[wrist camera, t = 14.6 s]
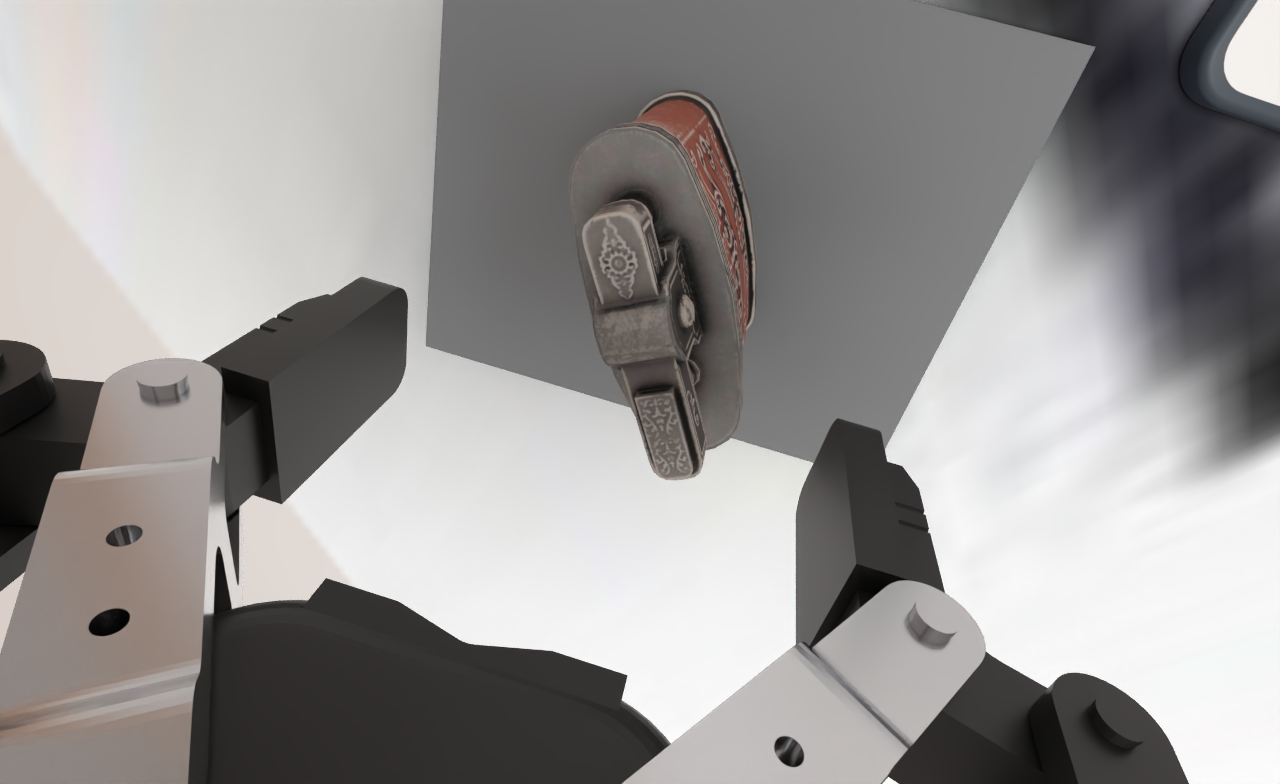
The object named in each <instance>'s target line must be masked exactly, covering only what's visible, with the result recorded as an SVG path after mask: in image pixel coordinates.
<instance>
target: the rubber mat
mask: <svg viewBox="0 0 1280 784" xmlns="http://www.w3.org/2000/svg"><path fill="white" fill-rule="evenodd" d="M1094 49H1095V47H1093V46H1089V45H1085V44H1081V43H1077V42H1073V41H1069V40H1065V39H1062V38H1058V37H1054V36H1050V35H1046V34H1042V33H1038V32H1034V31H1030V30H1026V29H1023V28H1019V27H1015V26H1011V25H1007V24H1003V23H999V22H995V21H991V20H987V19H984V18H980V17H976V16H972V15H968V14H964V13H960V12H956V11H952V10H948V9H945V8H941V7H937V6H933V5H929V4H925V3H921V2H917V1H913V0H443V19H442V39H441V58H440V78H439V97H438V117H437V136H436V156H435V175H434V195H433V214H432V234H431V253H430V273H429V292H428V312H427V331H426V346H428V347H431V348H435V349H438V350H441V351H444V352H448V353H451V354H454V355H458V356H461V357H464V358H468V359H471V360H474V361H478V362H481V363H484V364H488V365H491V366H494V367H498V368H501V369H504V370H508V371H511V372H514V373H518V374H521V375H524V376H528V377H531V378H534V379H538V380H541V381H544V382H548V383H551V384H554V385H557V386H561V387H564V388H567V389H571V390H574V391H577V392H581V393H584V394H587V395H591V396H594V397H597V398H601V399H604V400H607V401H611V402H614V403H617V404H621V405H624V406H627V407H630V405H629V403H628V402H627V400H626V398H625V396H624V394H623V392H622V390H621V388H620V387H619V385H618V383H617V381H616V379H615V377H614V374H613V372H612V369H611V367H610V366H608V365H607V364H605V362H604V360H603V359H602V357H601V355H600V351H599V348H598V345H597V342H596V339H595V334H594V328H593V320H592V316H591V312H590V308H589V304H588V299H587V295H586V291H585V287H584V283H583V279H582V274H581V270H580V266H579V262H578V258H577V251H576V243H575V234H574V226H573V218H572V210H571V201H570V193H569V180H570V169H571V167H572V165H573V163H574V161H575V159H576V157H577V155H578V153H579V151H580V150H581V149H582V148H583V147H584V146H586V145H587V144H588V143H589V142H590V141H591V140H592V139H593V138H594V137H596V136H597V135H599V134H600V133H602V132H604V131H606V130H608V129H610V128H613V127H615V126H617V125H619V124H624V123H631V122H633V121H634V120H636V119H637V117H638V116H639V114H640V112H641V110H642V109H643V108H645V107H646V106H647V105H648V104H649V103H650V102H651V101H652V100H653V99H655V98H657V97H659V96H661V95H663V94H665V93H667V92H669V91H674V90H683V89H687V90H691V91H695V92H699V93H701V94H703V95H704V96H706V97H707V98H709V99H710V100H711V101H712V102H713V103H714V105H715V106H716V108H717V109H718V111H719V112H720V115H721V118H722V120H723V123H724V125H725V128H726V130H727V133H728V135H729V138H730V141H731V143H732V146H733V148H734V151H735V153H736V156H737V158H738V161H739V165H740V169H741V173H742V176H743V180H744V184H745V188H746V192H747V196H748V199H749V203H750V207H751V212H752V221H753V230H754V239H755V248H756V257H757V277H756V307H755V313H754V317H753V321H752V324H751V325H750V326H749V328H748V329H747V330H746V333H745V339H744V346H743V403H742V411H741V417H740V421H739V425H738V429H737V430H736V431H735V433H734V434H733V435H732V436H731V437H730V438H734V439H737V440H740V441H744V442H747V443H750V444H754V445H757V446H760V447H764V448H767V449H770V450H773V451H777V452H780V453H783V454H787V455H790V456H793V457H797V458H800V459H803V460H807V461H810V462H813V463H814V461H815V459H816V457H817V455H818V453H819V451H820V448H821V446H822V444H823V442H824V440H825V438H826V436H827V433H828V431H829V429H830V427H831V425H832V424H833V422H834V421H835V420H836V419H838V418H839V419H843V420H846V421H850V422H853V423H856V424H860V425H863V426H867V427H870V428H873V429H877V430H879V431H880V432H881V434H882V439H883V444H884V449H885V448H886V446H887V444H888V442H889V440H890V438H891V436H892V434H893V432H894V431H895V429H896V427H897V425H898V423H899V421H900V419H901V417H902V415H903V413H904V411H905V410H906V408H907V406H908V404H909V402H910V400H911V398H912V396H913V394H914V392H915V390H916V389H917V387H918V385H919V383H920V381H921V379H922V377H923V375H924V373H925V371H926V369H927V368H928V366H929V364H930V362H931V360H932V358H933V356H934V354H935V352H936V350H937V349H938V347H939V345H940V343H941V341H942V339H943V337H944V335H945V333H946V331H947V329H948V328H949V326H950V324H951V322H952V320H953V318H954V316H955V314H956V312H957V310H958V308H959V307H960V305H961V303H962V301H963V299H964V297H965V295H966V293H967V291H968V289H969V287H970V286H971V284H972V282H973V280H974V278H975V276H976V274H977V272H978V270H979V268H980V267H981V265H982V263H983V261H984V259H985V257H986V255H987V253H988V251H989V249H990V247H991V246H992V244H993V242H994V240H995V238H996V236H997V234H998V232H999V230H1000V228H1001V226H1002V225H1003V223H1004V221H1005V219H1006V217H1007V215H1008V213H1009V211H1010V209H1011V207H1012V205H1013V204H1014V202H1015V200H1016V198H1017V196H1018V194H1019V192H1020V190H1021V188H1022V186H1023V184H1024V183H1025V181H1026V179H1027V177H1028V175H1029V173H1030V171H1031V169H1032V167H1033V165H1034V164H1035V162H1036V160H1037V158H1038V156H1039V154H1040V152H1041V150H1042V148H1043V146H1044V144H1045V143H1046V141H1047V139H1048V137H1049V135H1050V133H1051V131H1052V129H1053V127H1054V125H1055V123H1056V122H1057V120H1058V118H1059V116H1060V114H1061V112H1062V110H1063V108H1064V106H1065V104H1066V102H1067V101H1068V99H1069V97H1070V95H1071V93H1072V91H1073V89H1074V87H1075V85H1076V83H1077V82H1078V80H1079V78H1080V76H1081V74H1082V72H1083V70H1084V68H1085V66H1086V64H1087V62H1088V61H1089V59H1090V57H1091V55H1092V53H1093V51H1094Z"/></svg>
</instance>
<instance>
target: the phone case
mask: <svg viewBox="0 0 1280 784" xmlns="http://www.w3.org/2000/svg"><path fill="white" fill-rule="evenodd" d="M1179 72H1180V81H1181V85H1182V88H1183V90H1184V91H1185V93H1186V94H1187V96H1188V97H1189V98H1190V99H1192V100H1193V101H1194V102H1195V103H1197V104H1199V105H1201V106H1203V107H1205V108H1208V109H1211V110H1214V111H1217V112H1220V113H1223V114H1226V115H1229V116H1232V117H1235V118H1238V119H1241V120H1243V121H1246V122H1249V123H1252V124H1255V125H1258V126H1261V127H1264V128H1267V129H1270V130H1273V131H1276V132H1279V133H1280V0H1215V1H1214V3H1213V4H1212V6H1211V7H1210V9H1209V11H1208V12H1207V14H1206V15H1205V17H1204V18H1203V20H1202V21H1201V23H1200V24H1199V26H1198V28H1197V29H1196V31H1195V32H1194V34H1193V35H1192V37H1191V38H1190V40H1189V42H1188V44H1187V46H1186V48H1185V50H1184V53H1183V55H1182V58H1181V63H1180V70H1179Z"/></svg>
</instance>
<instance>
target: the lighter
mask: <svg viewBox="0 0 1280 784" xmlns="http://www.w3.org/2000/svg"><path fill="white" fill-rule="evenodd" d="M569 193H570V201H571V210H572V218H573V226H574V234H575V243H576V251H577V258H578V262H579V266H580V270H581V274H582V279H583V283H584V287H585V291H586V295H587V299H588V304H589V308H590V312H591V316H592V320H593V328H594V334H595V339H596V342H597V345H598V348H599V351H600V355H601V357H602V359H603V360H604V362H605V364H607V365H608V366H610V367H611V369H612V372H613V374H614V377H615V379H616V381H617V383H618V385H619V387H620V388H621V390H622V392H623V394H624V396H625V398H626V400H627V402H628V403H629V405H630V407H631V409H632V411H633V413H634V415H635V417H636V420H637V423H638V426H639V429H640V433H641V436H642V439H643V443H644V446H645V449H646V452H647V456H648V459H649V462H650V465H651V467H652V469H653V471H654V473H656V474H657V475H658V476H659V477H661V478H663V479H666V480H682V479H688V478H693V477H695V476H696V475H698V474H699V473H700V471H701V469H702V465H703V460H704V455H705V451H706V450H709V449H713V448H716V447H717V446H719V445H721V444H723V443H724V442H726V441H728V440H729V439H730V437H731V436H732V435H733V434H734V433H735V431H736V430H737V429H738V425H739V421H740V417H741V411H742V403H743V346H744V339H745V333H746V330H747V329H748V328H749V326H750V325H751V324H752V321H753V317H754V313H755V307H756V277H757V257H756V248H755V239H754V230H753V221H752V212H751V207H750V203H749V199H748V196H747V192H746V188H745V184H744V180H743V176H742V173H741V169H740V165H739V161H738V158H737V156H736V153H735V151H734V148H733V146H732V143H731V141H730V138H729V135H728V133H727V130H726V128H725V125H724V123H723V120H722V118H721V115H720V112H719V111H718V109H717V108H716V106H715V105H714V103H713V102H712V101H711V100H710V99H709V98H707V97H706V96H704V95H703V94H701V93H699V92H695V91H691V90H687V89H683V90H674V91H669V92H667V93H665V94H663V95H661V96H659V97H657V98H655V99H653V100H652V101H651V102H650V103H649V104H648V105H647V106H646V107H645V108H643V109H642V110H641V112H640V114H639V116H638V117H637V119H636V120H634V121H633V122H631V123H624V124H619V125H617V126H615V127H613V128H610V129H608V130H606V131H604V132H602V133H600V134H599V135H597V136H596V137H594V138H593V139H592V140H591V141H590V142H589V143H588V144H587V145H586V146H584V147H583V148H582V149H581V150H580V151H579V153H578V155H577V157H576V159H575V161H574V163H573V165H572V167H571V169H570V180H569Z"/></svg>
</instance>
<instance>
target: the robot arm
mask: <svg viewBox="0 0 1280 784" xmlns="http://www.w3.org/2000/svg"><path fill="white" fill-rule="evenodd" d="M407 313H408V299H407V295H406V292H405V291H404V290H403V289H402V288H399V287H395V286H392V285H389V284H385V283H382V282H378V281H375V280H372V279H368V278H365V277H361V278H358V279H356V280H355V281H353V282H352V283H350V284H349V285H347V286H345V287H344V288H342V289H341V290H339V291H338V292H336V293H335V294H333V295H328V294H326V295H322V296H319V297H315V298H312V299H308V300H304V301H301V302H298V303H296V304H295V305H293V306H291V307H290V308H288V309H286V310H285V311H283V312H281V313H280V314H278V316H277V318H274V317H273V318H272V319H270V320H268V321H267V322H265V323H264V324H262V325H260V329H257V328H255V329H254V330H252V331H251V332H249V333H247V334H246V335H244V336H242V337H241V338H239V339H237V340H236V341H234V342H233V343H231V344H229V345H228V346H226V347H224V348H223V349H221V350H220V351H218V352H216V353H215V354H213V355H211V356H210V357H208V358H206V359H205V360H203V361H202V362H200V361H196V360H190V359H181V358H165V359H155V360H149V361H144V362H141V363H137V364H134V365H131V366H128V367H126V368H123V369H121V370H119V371H118V372H116V373H114V374H113V375H112V376H111V377H109V378H108V379H107V380H106V381H105V382H94V381H82V380H71V379H58V378H52V376H51V373H50V370H49V367H48V363H47V360H46V357H45V355H44V354H43V352H42V351H41V350H40V349H38V348H36V347H34V346H32V345H29V344H26V343H22V342H17V341H9V340H0V591H2V590H3V589H4V588H5V587H7V585H9V584H10V583H11V582H12V581H14V580H15V579H16V578H18V577H19V576H20V575H21V574H22V573H24V572H25V574H24V577H23V581H22V584H21V587H20V590H19V594H18V597H17V601H16V604H15V608H14V610H13V614H12V617H11V620H10V624H9V627H8V630H7V634H6V637H5V640H4V644H3V647H2V650H1V654H0V784H883V782H884V781H885V780H886V779H887V778H888V777H890V778H891V779H893V780H894V781H896V782H897V783H899V784H1189V783H1188V780H1187V778H1186V776H1185V774H1184V772H1183V769H1182V767H1181V765H1180V763H1179V760H1178V758H1177V756H1176V754H1175V751H1174V749H1173V747H1172V745H1171V743H1170V741H1169V739H1168V738H1167V736H1166V735H1165V733H1164V732H1163V730H1162V729H1161V727H1160V726H1159V725H1158V724H1157V722H1156V721H1155V720H1154V719H1153V718H1152V716H1151V715H1150V714H1149V713H1148V712H1147V711H1146V710H1145V709H1144V708H1143V707H1141V706H1140V705H1139V704H1138V703H1137V702H1136V701H1135V700H1133V699H1132V698H1131V697H1129V696H1128V695H1127V694H1126V693H1124V692H1123V691H1121V690H1120V689H1118V688H1116V687H1115V686H1113V685H1111V684H1109V683H1107V682H1106V681H1104V680H1101V679H1099V678H1096V677H1094V676H1090V675H1087V674H1082V673H1067V674H1064V675H1062V676H1060V677H1059V678H1057V679H1056V680H1055V682H1054V683H1053V684H1052V685H1051V686H1050V687H1049V688H1046V687H1044V686H1042V685H1041V684H1039V683H1037V682H1035V681H1034V680H1032V679H1030V678H1028V677H1027V676H1025V675H1023V674H1021V673H1020V672H1018V671H1016V670H1014V669H1013V668H1011V667H1009V666H1007V665H1006V664H1004V663H1002V662H1000V661H999V660H997V659H996V658H994V657H992V656H991V655H990V654H988V653H987V652H986V648H985V641H984V637H983V635H982V632H981V630H980V628H979V627H978V625H977V623H976V622H975V620H974V619H973V618H972V616H971V615H970V614H969V613H968V612H967V611H966V610H965V609H964V608H963V607H962V606H961V605H960V604H959V603H958V602H956V601H955V600H954V599H953V598H951V597H950V596H948V595H947V594H945V591H944V587H943V583H942V579H941V575H940V571H939V567H938V563H937V559H936V555H935V551H934V547H933V543H932V539H931V535H930V533H928V529H929V527H928V523H927V519H926V515H924V514H923V513H924V507H923V503H922V499H921V495H920V491H919V488H918V487H917V486H916V484H915V483H914V482H913V480H912V479H911V478H910V476H909V475H908V473H907V472H906V471H905V469H904V468H903V467H902V466H899V465H896V464H893V463H889V462H887V459H886V454H885V449H884V444H883V439H882V434H881V432H880V431H879V430H877V429H873V428H870V427H867V426H863V425H860V424H856V423H853V422H850V421H846V420H843V419H839V418H838V419H836V420H835V421H834V422H833V424H832V425H831V427H830V429H829V431H828V433H827V436H826V438H825V440H824V442H823V444H822V446H821V448H820V451H819V453H818V455H817V457H816V459H815V461H814V464H813V466H812V468H811V470H810V472H809V474H808V476H807V479H806V481H805V483H804V485H803V488H802V491H801V494H800V497H799V501H798V506H797V511H796V645H795V646H793V647H792V648H791V649H789V650H788V651H787V652H786V653H784V654H783V655H782V656H781V657H779V658H778V659H777V660H776V661H774V662H773V663H772V664H771V665H769V666H768V667H767V668H766V669H764V670H763V671H762V672H761V673H759V674H758V675H757V676H756V677H754V678H753V679H752V680H751V681H749V682H748V683H747V684H746V685H744V686H743V687H742V688H741V689H739V690H738V691H737V692H736V693H734V694H733V695H732V696H731V697H729V698H728V699H727V700H726V701H724V702H723V703H722V704H721V705H719V706H718V707H717V708H716V709H714V710H713V711H712V712H711V713H709V714H708V715H707V716H706V717H704V718H703V719H702V720H701V721H699V722H698V723H697V724H696V725H694V726H693V727H692V728H691V729H689V730H688V731H687V732H686V733H684V734H683V735H682V736H681V737H679V738H678V739H677V740H676V741H674V742H673V743H672V744H670V742H669V741H668V740H667V739H666V737H665V736H664V735H663V734H662V733H661V732H660V731H659V730H658V729H657V728H656V727H655V726H654V725H653V724H652V723H651V722H650V721H649V720H648V719H647V718H645V717H644V716H643V715H642V714H640V713H639V712H638V711H637V710H635V709H634V708H633V707H631V706H630V705H628V704H626V703H625V702H623V701H622V700H621V699H622V695H623V691H624V687H625V683H626V679H627V675H625V674H621V673H618V672H615V671H612V670H609V669H606V668H603V667H600V666H597V665H594V664H590V663H587V662H584V661H581V660H578V659H575V658H572V657H569V656H566V655H563V654H559V653H556V652H553V651H545V650H532V649H520V648H508V647H496V646H483V645H473V644H468V643H465V642H462V641H460V640H458V639H457V638H455V637H454V636H452V635H451V634H449V633H447V632H446V631H444V630H443V629H441V628H439V627H438V626H436V625H435V624H433V623H432V622H430V621H428V620H427V619H425V618H424V617H422V616H421V615H419V614H417V613H416V612H414V611H413V610H411V609H409V608H408V607H406V606H405V605H403V604H402V603H400V602H398V601H395V600H392V599H389V598H386V597H383V596H380V595H377V594H373V593H370V592H367V591H364V590H361V589H358V588H355V587H352V586H349V585H346V584H342V583H339V582H336V581H333V580H330V579H327V578H326V579H325V580H324V581H323V583H322V584H321V585H320V587H319V588H318V589H317V590H316V591H315V593H314V594H313V595H312V596H311V598H310V599H309V600H308V601H307V600H286V601H285V600H284V601H272V602H264V603H257V604H252V605H247V606H243V515H242V508H241V505H242V504H243V503H244V502H245V501H246V500H247V499H248V498H250V497H251V496H252V495H255V496H258V497H261V498H265V499H267V500H270V501H274V502H277V503H280V504H282V503H283V502H284V501H286V500H287V499H288V498H289V497H290V496H291V495H292V494H293V493H294V492H295V491H296V490H297V489H298V488H299V487H300V486H301V485H302V484H303V483H304V482H305V481H306V480H307V479H308V478H309V477H310V476H311V475H312V474H313V473H314V472H315V471H316V470H317V469H318V468H319V467H320V466H321V465H322V464H323V463H324V462H325V461H326V460H327V459H328V458H329V457H330V456H331V455H332V454H333V453H334V452H335V451H336V450H337V449H338V448H339V447H340V446H341V445H342V444H343V443H344V442H345V441H346V440H347V439H348V438H349V437H350V436H351V435H352V434H353V433H354V432H355V431H356V430H357V429H358V428H359V427H360V426H362V425H363V424H364V423H365V422H366V421H367V420H368V419H369V418H370V417H371V416H372V415H373V414H374V413H375V412H376V411H377V410H378V409H379V408H380V407H381V406H382V405H383V404H384V403H385V402H386V401H387V400H388V399H389V398H390V397H391V396H392V395H393V394H394V393H395V391H396V390H397V388H398V387H399V385H400V383H401V381H402V378H403V375H404V372H405V367H406V349H407Z"/></svg>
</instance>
